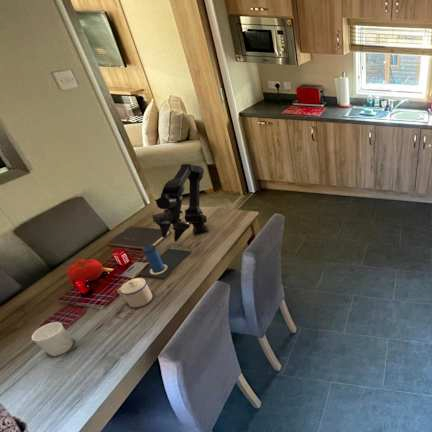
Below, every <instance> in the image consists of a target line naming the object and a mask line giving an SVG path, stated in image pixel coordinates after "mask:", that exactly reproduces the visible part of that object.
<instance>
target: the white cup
mask: <svg viewBox="0 0 432 432" xmlns="http://www.w3.org/2000/svg"><path fill="white" fill-rule="evenodd" d="M31 340H32V341H33V342H34V343H35V344H36V345H37V346H38V347H40V349H42V350H43V351H44V352H46V353H47V354H48V355H49V356H52V357H56V356H57V357H58V356H60V355H63V354H65V353H66V352H68V351H69V350H70V349H71V348H72V347H73V345H74V341H73V340H72V339H71V336H70V334H69V333H68V332H67V330H66V328H65V327H64V326H63V324H62V323H61V322H58V321H53V322H49V323H46V324H44V325H42V326H40V327H39V328H37V329H36V330H34V332H33V333H32V335H31Z"/></svg>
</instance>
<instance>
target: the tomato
mask: <svg viewBox="0 0 432 432" xmlns="http://www.w3.org/2000/svg"><path fill="white" fill-rule="evenodd" d="M103 271H104V267H103V264H102V263H100V262H99V261H98V260H97V259H93V258H89V259H87V260H86V259H77V260H75V262H74V263H72V264H71V265H69V268H67V274H66V275H67V277H68V279H69V280H71V281H73V282H75V281H76V280H78V279H81V278H82V279H85V280H88V281H90V282H91V280H92V281H95V280H97V279H99V278H100V277H101V276H102V274H103Z"/></svg>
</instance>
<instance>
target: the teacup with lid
mask: <svg viewBox="0 0 432 432" xmlns="http://www.w3.org/2000/svg"><path fill="white" fill-rule="evenodd" d="M117 293H118V294H119V296H122V297H123V298H124V299H125V301H126V303H127V304H128V306H129V307H131V308H140V307H144V306H146V304H148V303H150V302H151V301H152V299H153V294H152V291H151V289H150V287H149V286H148V284H147V280H146V279H144V278H142V277H136V278H131V279H130V280H127V281H125V282H124V283H123V284H122V285H121V286H120V287H119V288H118V289H117Z"/></svg>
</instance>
